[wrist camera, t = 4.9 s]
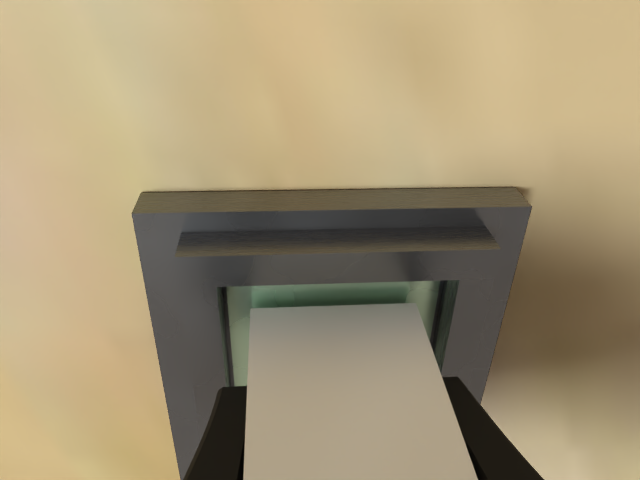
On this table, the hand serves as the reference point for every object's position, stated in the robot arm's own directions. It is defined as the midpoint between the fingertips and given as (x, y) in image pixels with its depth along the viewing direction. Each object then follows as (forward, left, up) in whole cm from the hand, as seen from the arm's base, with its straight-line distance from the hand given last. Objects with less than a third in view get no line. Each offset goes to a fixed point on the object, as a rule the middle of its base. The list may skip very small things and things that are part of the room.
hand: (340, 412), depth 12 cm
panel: (0, +5, -3) cm, 6 cm away
